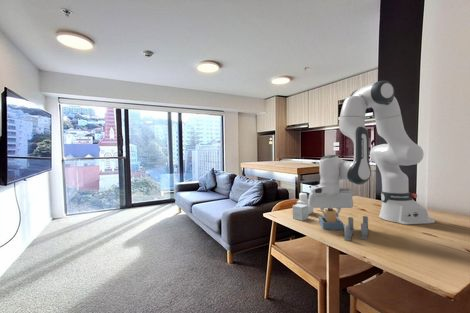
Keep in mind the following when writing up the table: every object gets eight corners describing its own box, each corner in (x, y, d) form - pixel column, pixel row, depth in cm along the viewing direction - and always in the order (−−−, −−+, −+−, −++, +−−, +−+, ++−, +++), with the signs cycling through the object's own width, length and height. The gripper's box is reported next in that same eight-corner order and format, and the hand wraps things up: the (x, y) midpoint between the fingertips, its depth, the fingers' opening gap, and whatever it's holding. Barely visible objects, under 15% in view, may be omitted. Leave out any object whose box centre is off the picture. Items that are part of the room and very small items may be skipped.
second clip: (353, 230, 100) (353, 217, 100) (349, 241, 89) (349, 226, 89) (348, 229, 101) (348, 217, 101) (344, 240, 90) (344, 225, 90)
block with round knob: (333, 219, 108) (333, 207, 108) (336, 222, 104) (335, 209, 104) (325, 219, 109) (325, 207, 109) (327, 222, 105) (327, 209, 105)
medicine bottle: (302, 210, 135) (301, 191, 135) (313, 212, 130) (313, 192, 130) (296, 213, 130) (296, 193, 130) (307, 215, 125) (307, 194, 125)
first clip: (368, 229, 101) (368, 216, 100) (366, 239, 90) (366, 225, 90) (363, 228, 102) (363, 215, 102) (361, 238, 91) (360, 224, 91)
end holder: (337, 223, 110) (337, 217, 110) (343, 229, 102) (343, 223, 101) (319, 222, 112) (318, 216, 112) (323, 229, 103) (322, 222, 103)
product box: (302, 221, 116) (301, 207, 115) (292, 218, 120) (292, 205, 120) (308, 218, 119) (308, 205, 119) (298, 216, 124) (298, 203, 124)
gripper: (350, 187, 107) (351, 214, 108) (307, 187, 111) (308, 214, 112) (355, 189, 101) (355, 218, 102) (309, 189, 105) (310, 218, 105)
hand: (330, 216), depth 107 cm, fingers closed on block with round knob, 4 cm apart
